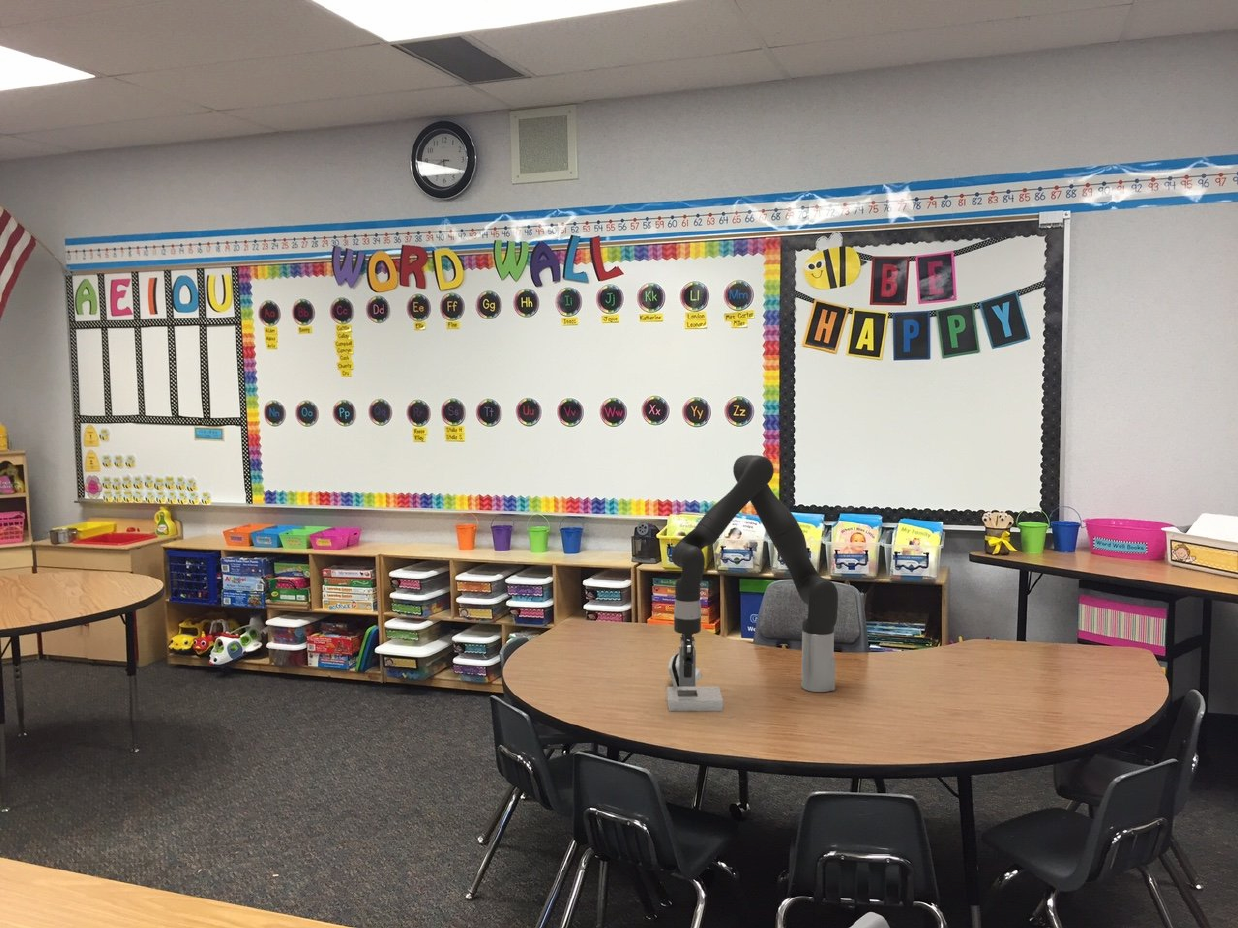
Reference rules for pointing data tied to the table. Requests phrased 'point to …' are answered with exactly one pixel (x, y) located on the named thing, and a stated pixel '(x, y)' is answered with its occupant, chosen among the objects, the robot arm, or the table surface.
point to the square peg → (682, 680)
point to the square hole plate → (694, 699)
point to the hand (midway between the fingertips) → (687, 674)
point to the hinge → (674, 671)
